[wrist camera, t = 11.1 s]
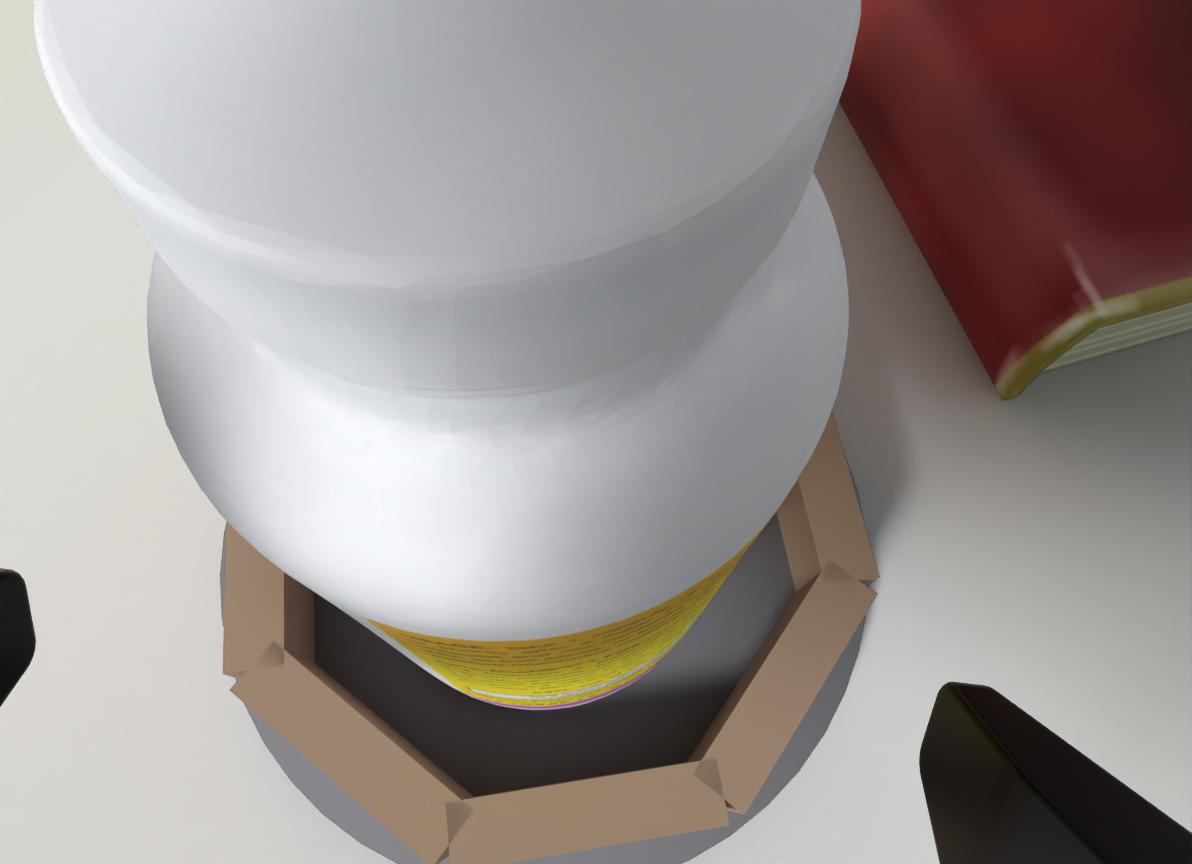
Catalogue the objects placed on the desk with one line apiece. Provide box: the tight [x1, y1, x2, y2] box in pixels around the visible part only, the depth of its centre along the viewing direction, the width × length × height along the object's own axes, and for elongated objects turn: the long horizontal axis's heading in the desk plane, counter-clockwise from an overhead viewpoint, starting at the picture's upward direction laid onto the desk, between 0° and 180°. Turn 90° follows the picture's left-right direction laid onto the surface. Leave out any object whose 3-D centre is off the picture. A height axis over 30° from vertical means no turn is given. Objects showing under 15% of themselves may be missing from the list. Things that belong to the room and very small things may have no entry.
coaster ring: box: [220, 411, 879, 864], centre depth 16 cm, size 13×13×3 cm
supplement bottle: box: [34, 0, 861, 710], centre depth 10 cm, size 7×7×13 cm
